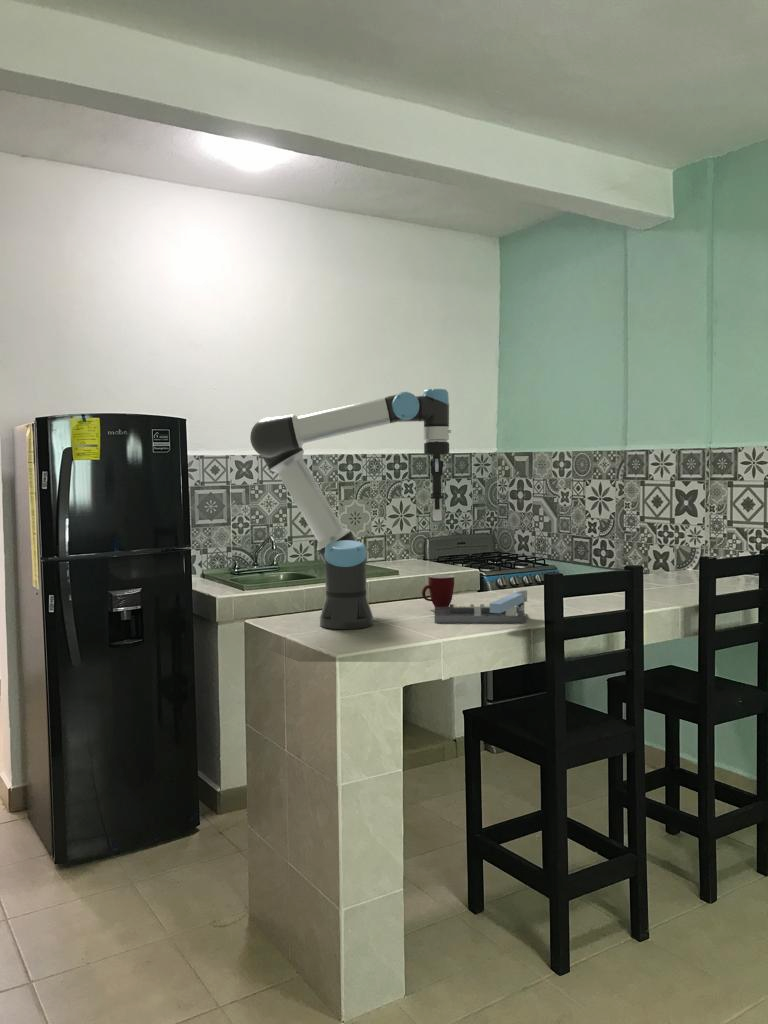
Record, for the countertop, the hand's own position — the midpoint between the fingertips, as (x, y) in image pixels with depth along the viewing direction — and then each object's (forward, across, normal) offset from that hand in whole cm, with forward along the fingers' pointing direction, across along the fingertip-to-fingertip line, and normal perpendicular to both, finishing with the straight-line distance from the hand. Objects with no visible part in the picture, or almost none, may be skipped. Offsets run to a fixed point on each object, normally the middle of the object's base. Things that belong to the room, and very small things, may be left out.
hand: (437, 520), depth 252 cm
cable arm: (+23, -15, -20) cm, 34 cm away
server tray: (+28, -6, -12) cm, 31 cm away
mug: (+29, +10, 0) cm, 30 cm away
